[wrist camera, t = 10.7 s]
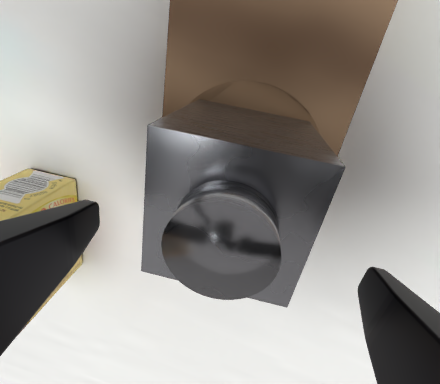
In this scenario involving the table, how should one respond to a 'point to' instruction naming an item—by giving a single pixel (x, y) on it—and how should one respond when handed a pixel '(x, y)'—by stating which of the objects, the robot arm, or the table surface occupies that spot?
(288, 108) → the brown flat block
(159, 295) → the table surface
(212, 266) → the metal cube with knob
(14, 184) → the candy box
